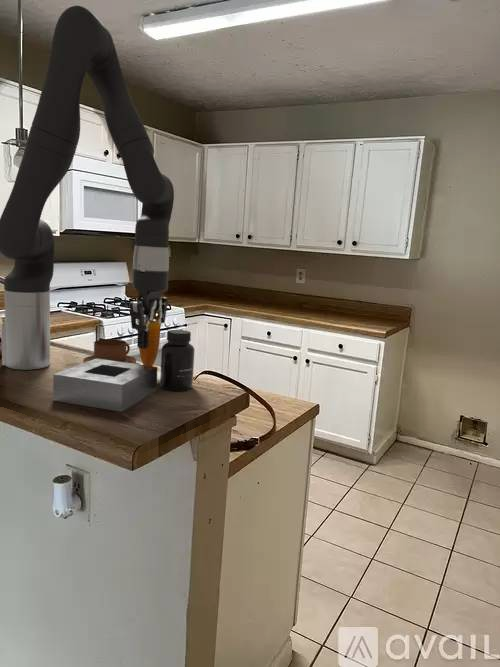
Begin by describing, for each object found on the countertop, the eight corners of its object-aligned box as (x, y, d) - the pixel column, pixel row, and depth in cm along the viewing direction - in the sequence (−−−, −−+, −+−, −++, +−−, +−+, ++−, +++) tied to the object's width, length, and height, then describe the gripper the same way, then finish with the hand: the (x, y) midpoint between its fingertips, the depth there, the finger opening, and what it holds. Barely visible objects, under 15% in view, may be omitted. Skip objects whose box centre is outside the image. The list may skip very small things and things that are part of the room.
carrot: (152, 367, 112) (154, 302, 109) (163, 372, 108) (166, 305, 105) (132, 369, 109) (134, 303, 106) (143, 375, 105) (145, 306, 102)
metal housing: (53, 400, 90) (53, 374, 89) (95, 381, 103) (96, 358, 102) (121, 411, 86) (122, 384, 85) (156, 390, 100) (157, 366, 99)
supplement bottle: (186, 393, 99) (189, 336, 97) (154, 389, 100) (156, 332, 98) (196, 384, 106) (199, 330, 103) (167, 381, 107) (169, 327, 105)
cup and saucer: (99, 359, 122) (99, 335, 121) (144, 364, 120) (144, 340, 119) (72, 370, 110) (73, 344, 109) (122, 377, 108) (122, 350, 107)
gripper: (150, 265, 112) (147, 338, 115) (117, 267, 98) (116, 349, 101) (180, 268, 110) (177, 342, 113) (151, 270, 97) (149, 354, 100)
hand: (148, 345), depth 107 cm, fingers closed on carrot, 5 cm apart
